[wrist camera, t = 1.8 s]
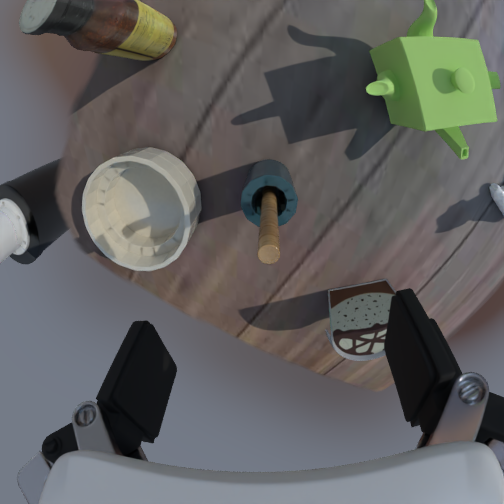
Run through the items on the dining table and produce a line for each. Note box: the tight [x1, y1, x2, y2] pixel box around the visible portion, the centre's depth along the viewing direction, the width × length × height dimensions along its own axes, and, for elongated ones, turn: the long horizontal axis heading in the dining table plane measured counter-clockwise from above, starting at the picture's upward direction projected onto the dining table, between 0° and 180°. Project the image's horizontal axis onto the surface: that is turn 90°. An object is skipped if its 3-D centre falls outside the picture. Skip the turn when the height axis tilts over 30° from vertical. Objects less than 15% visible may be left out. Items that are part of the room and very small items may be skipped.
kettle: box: [366, 0, 500, 159], centre depth 20 cm, size 15×14×11 cm
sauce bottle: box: [19, 0, 177, 61], centre depth 16 cm, size 7×6×20 cm
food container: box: [326, 279, 396, 361], centre depth 36 cm, size 12×6×10 cm, turn 103°
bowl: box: [82, 147, 201, 271], centre depth 32 cm, size 14×14×6 cm
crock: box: [241, 159, 298, 227], centre depth 29 cm, size 5×5×8 cm
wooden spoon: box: [257, 185, 280, 264], centre depth 25 cm, size 1×3×17 cm, turn 9°
